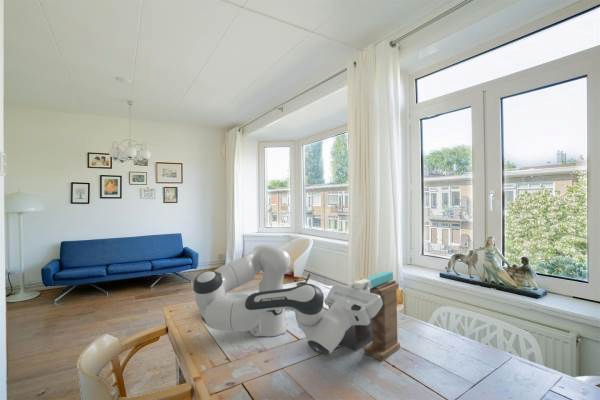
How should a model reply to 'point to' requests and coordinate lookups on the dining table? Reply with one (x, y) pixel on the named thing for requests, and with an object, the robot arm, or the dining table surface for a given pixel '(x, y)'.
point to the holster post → (384, 323)
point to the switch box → (357, 336)
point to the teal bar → (374, 280)
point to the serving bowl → (236, 295)
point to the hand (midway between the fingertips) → (364, 283)
